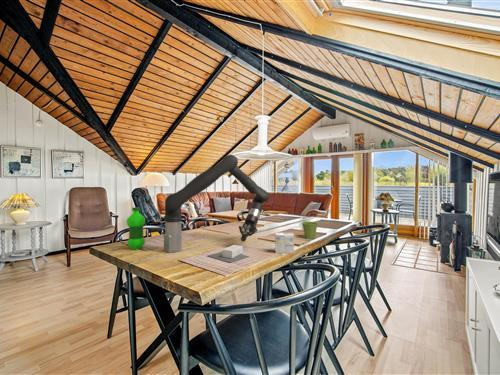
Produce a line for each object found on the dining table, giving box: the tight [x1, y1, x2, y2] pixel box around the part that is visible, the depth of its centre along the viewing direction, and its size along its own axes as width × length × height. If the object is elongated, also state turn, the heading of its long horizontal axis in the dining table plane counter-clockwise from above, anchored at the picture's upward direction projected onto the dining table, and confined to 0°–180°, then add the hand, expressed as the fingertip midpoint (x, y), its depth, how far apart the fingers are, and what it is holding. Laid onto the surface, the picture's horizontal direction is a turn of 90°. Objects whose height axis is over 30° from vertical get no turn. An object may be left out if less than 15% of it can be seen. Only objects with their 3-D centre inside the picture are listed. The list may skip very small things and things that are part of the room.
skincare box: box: [222, 244, 244, 258], centre depth 138 cm, size 6×4×12 cm
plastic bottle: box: [126, 206, 146, 250], centre depth 155 cm, size 10×10×25 cm
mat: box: [207, 250, 250, 264], centre depth 137 cm, size 14×18×1 cm
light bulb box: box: [274, 232, 295, 255], centre depth 146 cm, size 11×7×11 cm, turn 84°
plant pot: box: [301, 221, 319, 240], centre depth 184 cm, size 12×12×11 cm
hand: (242, 240), depth 147 cm, fingers closed
